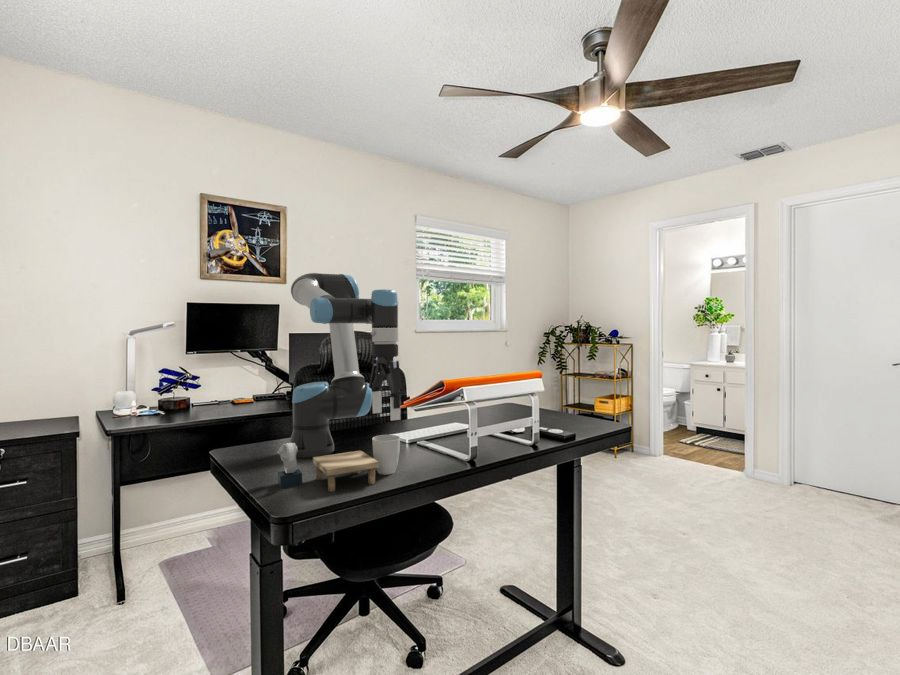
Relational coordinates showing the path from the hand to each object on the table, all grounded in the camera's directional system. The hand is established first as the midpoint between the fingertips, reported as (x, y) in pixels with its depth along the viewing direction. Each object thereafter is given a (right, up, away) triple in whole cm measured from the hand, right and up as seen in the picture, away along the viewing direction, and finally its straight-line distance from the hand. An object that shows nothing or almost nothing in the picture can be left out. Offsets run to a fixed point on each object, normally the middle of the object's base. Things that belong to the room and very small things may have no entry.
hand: (385, 416), depth 139 cm
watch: (-25, -17, -10) cm, 31 cm away
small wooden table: (-10, -17, -8) cm, 21 cm away
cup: (0, -17, +1) cm, 17 cm away
